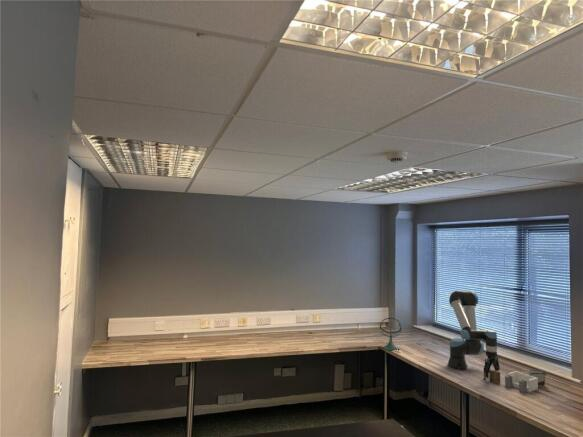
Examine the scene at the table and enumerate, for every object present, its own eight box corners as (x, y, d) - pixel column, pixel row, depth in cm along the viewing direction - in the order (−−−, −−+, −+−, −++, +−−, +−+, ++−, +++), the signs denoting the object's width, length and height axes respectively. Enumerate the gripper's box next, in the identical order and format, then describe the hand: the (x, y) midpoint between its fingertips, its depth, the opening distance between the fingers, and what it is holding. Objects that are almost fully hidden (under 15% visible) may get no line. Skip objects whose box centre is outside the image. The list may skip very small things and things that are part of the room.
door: (483, 378, 290) (483, 368, 290) (485, 378, 291) (485, 367, 292) (498, 383, 280) (498, 372, 280) (500, 383, 281) (500, 372, 281)
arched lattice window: (540, 382, 283) (540, 369, 284) (546, 385, 277) (546, 372, 278) (525, 382, 283) (524, 369, 284) (530, 385, 277) (530, 372, 277)
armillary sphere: (383, 353, 352) (383, 315, 357) (376, 347, 377) (376, 312, 382) (405, 353, 352) (405, 316, 357) (397, 347, 378) (397, 312, 382)
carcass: (503, 385, 276) (503, 374, 276) (515, 381, 284) (515, 371, 284) (525, 393, 262) (525, 381, 262) (537, 389, 270) (537, 377, 271)
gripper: (487, 354, 278) (487, 384, 276) (504, 350, 289) (505, 379, 288) (478, 351, 284) (478, 381, 283) (495, 347, 296) (495, 376, 294)
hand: (491, 380), depth 285 cm, fingers open, 10 cm apart
